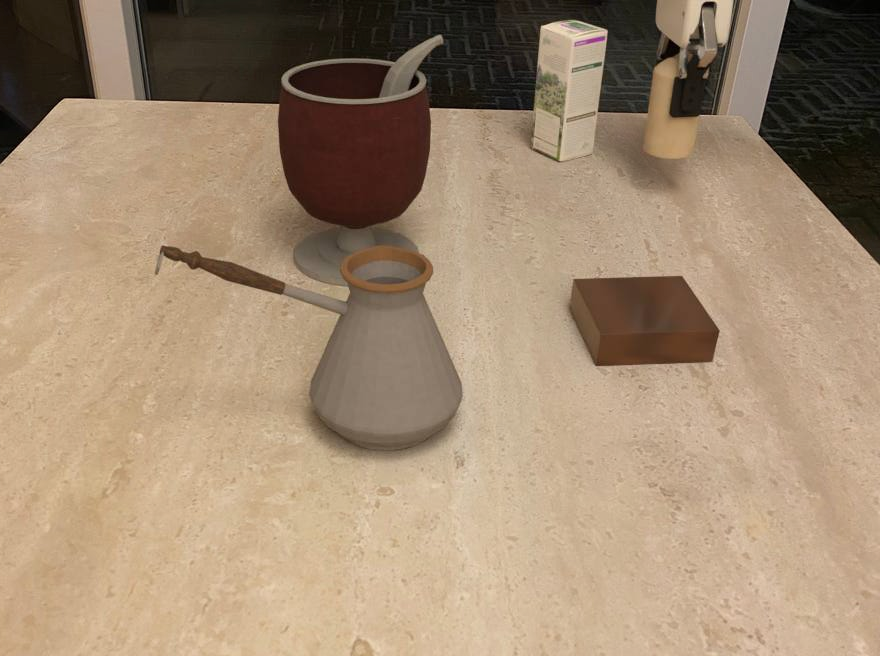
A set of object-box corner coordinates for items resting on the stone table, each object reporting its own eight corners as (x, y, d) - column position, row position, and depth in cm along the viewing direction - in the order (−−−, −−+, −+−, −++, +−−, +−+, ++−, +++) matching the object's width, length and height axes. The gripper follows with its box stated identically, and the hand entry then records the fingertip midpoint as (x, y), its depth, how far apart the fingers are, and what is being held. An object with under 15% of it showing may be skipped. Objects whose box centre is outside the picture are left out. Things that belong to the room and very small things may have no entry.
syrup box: (594, 154, 123) (611, 28, 114) (558, 163, 120) (572, 35, 111) (563, 140, 126) (577, 17, 117) (527, 149, 124) (539, 23, 115)
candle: (655, 139, 114) (668, 45, 107) (701, 148, 111) (718, 53, 105) (634, 153, 110) (647, 57, 104) (681, 162, 107) (697, 65, 101)
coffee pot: (448, 377, 81) (457, 200, 72) (473, 461, 72) (486, 271, 63) (183, 391, 79) (157, 210, 70) (174, 479, 70) (143, 285, 61)
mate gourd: (314, 301, 92) (305, 74, 79) (267, 241, 101) (252, 31, 89) (465, 272, 97) (478, 54, 84) (406, 217, 107) (410, 16, 94)
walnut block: (676, 305, 92) (682, 275, 90) (712, 361, 84) (720, 330, 82) (569, 308, 91) (573, 278, 89) (595, 366, 83) (600, 334, 81)
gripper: (776, -71, 90) (737, 132, 101) (712, -98, 104) (683, 82, 115) (695, -69, 90) (664, 134, 101) (641, -97, 103) (619, 85, 114)
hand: (675, 105), depth 107 cm, fingers closed on candle, 5 cm apart
